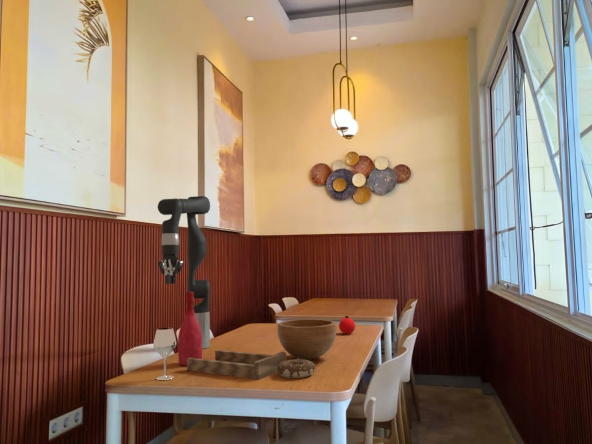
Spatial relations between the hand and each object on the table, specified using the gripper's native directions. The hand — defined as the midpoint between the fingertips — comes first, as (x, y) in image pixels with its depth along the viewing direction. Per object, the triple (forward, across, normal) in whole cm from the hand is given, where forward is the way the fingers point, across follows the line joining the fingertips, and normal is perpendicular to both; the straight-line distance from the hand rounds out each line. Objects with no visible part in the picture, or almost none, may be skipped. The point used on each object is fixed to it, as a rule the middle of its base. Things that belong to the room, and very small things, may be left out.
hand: (170, 283), depth 201 cm
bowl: (+33, +52, +27) cm, 67 cm away
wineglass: (+33, +19, -22) cm, 44 cm away
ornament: (+33, +42, +92) cm, 106 cm away
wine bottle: (+33, +11, 0) cm, 35 cm away
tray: (+33, +34, 0) cm, 47 cm away
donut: (+33, +61, +2) cm, 69 cm away
